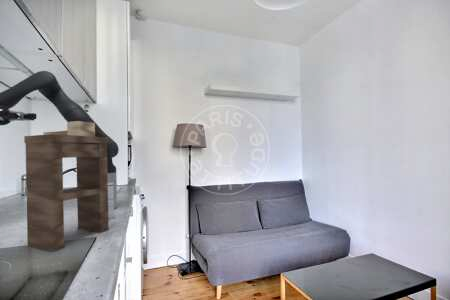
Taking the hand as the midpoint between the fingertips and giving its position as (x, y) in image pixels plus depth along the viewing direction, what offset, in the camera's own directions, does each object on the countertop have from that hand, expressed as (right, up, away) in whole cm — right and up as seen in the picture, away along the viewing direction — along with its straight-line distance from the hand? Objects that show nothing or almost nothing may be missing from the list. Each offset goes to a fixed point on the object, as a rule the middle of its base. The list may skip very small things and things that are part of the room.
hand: (22, 114), depth 83 cm
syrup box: (+26, -41, +8) cm, 49 cm away
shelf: (+26, -41, -12) cm, 50 cm away
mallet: (+20, -9, -5) cm, 22 cm away
